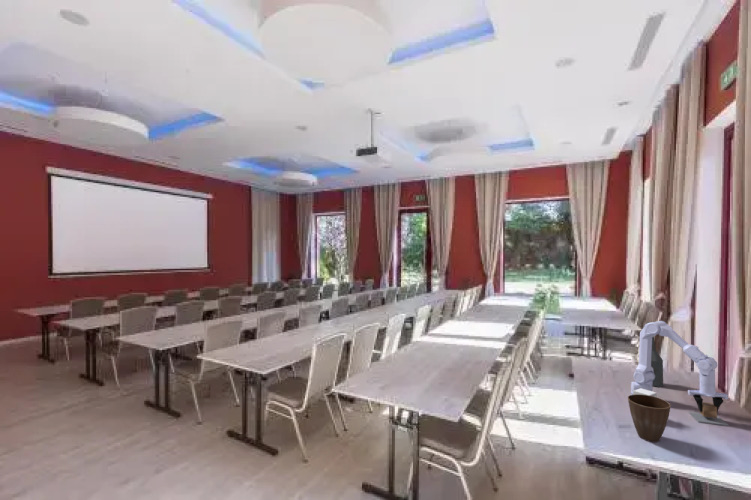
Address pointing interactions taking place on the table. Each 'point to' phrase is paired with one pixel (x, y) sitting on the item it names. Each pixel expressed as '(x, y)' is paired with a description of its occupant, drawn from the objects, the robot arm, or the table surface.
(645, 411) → the plant pot
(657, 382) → the bottle
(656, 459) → the table surface
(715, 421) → the slate mat
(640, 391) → the supplement box
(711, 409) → the walnut block
